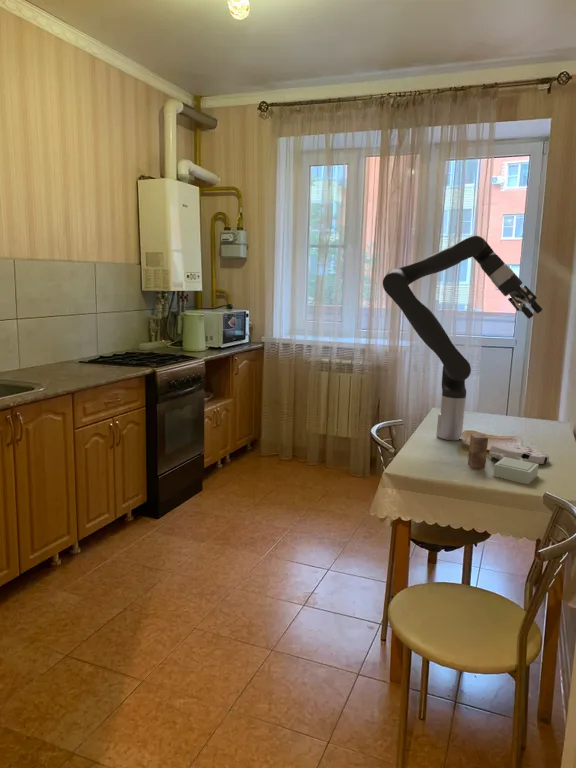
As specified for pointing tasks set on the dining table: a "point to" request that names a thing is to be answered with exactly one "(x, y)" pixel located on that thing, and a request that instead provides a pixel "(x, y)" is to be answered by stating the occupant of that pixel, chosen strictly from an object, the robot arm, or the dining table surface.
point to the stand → (515, 470)
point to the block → (477, 451)
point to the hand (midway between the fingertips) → (535, 314)
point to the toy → (518, 453)
